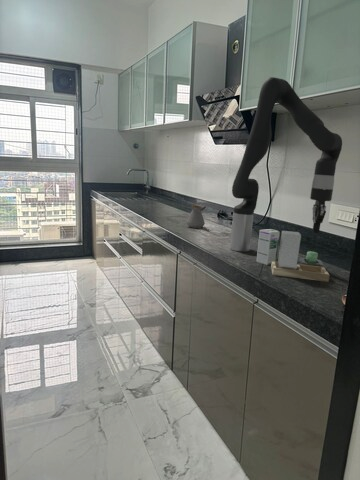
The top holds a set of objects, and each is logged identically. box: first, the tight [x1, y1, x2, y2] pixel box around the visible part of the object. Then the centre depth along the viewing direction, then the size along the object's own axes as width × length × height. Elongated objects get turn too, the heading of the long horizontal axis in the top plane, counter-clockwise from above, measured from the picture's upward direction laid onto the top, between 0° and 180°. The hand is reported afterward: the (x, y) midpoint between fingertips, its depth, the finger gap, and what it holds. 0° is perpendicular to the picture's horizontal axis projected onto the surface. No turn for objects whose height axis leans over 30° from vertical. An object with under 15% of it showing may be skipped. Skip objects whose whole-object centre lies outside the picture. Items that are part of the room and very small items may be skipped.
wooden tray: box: [270, 261, 330, 282], centre depth 129 cm, size 10×19×4 cm, turn 79°
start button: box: [305, 250, 319, 263], centre depth 138 cm, size 4×4×4 cm
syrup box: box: [255, 228, 281, 266], centre depth 142 cm, size 6×6×14 cm
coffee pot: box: [185, 205, 208, 229], centre depth 212 cm, size 21×12×15 cm, turn 16°
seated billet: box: [277, 230, 302, 270], centre depth 129 cm, size 6×6×15 cm
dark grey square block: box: [297, 256, 325, 268], centre depth 139 cm, size 8×8×4 cm
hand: (315, 232), depth 136 cm, fingers closed
